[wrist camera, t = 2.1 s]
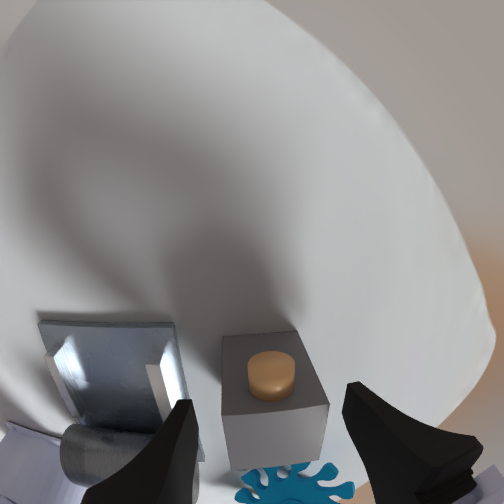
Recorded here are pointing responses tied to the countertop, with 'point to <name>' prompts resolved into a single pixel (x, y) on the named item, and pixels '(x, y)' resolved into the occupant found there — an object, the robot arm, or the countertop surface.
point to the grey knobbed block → (271, 401)
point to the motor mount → (113, 392)
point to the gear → (293, 487)
